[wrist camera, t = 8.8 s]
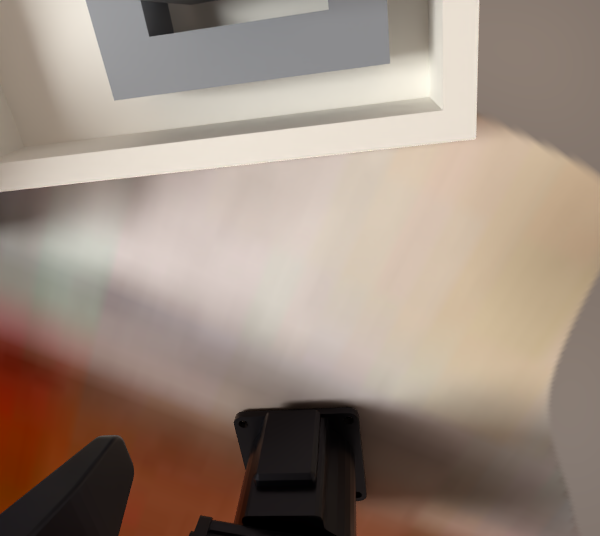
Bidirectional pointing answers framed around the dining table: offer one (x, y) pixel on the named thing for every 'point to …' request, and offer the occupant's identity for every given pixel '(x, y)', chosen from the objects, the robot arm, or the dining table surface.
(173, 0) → the plug
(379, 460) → the dining table surface
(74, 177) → the box
